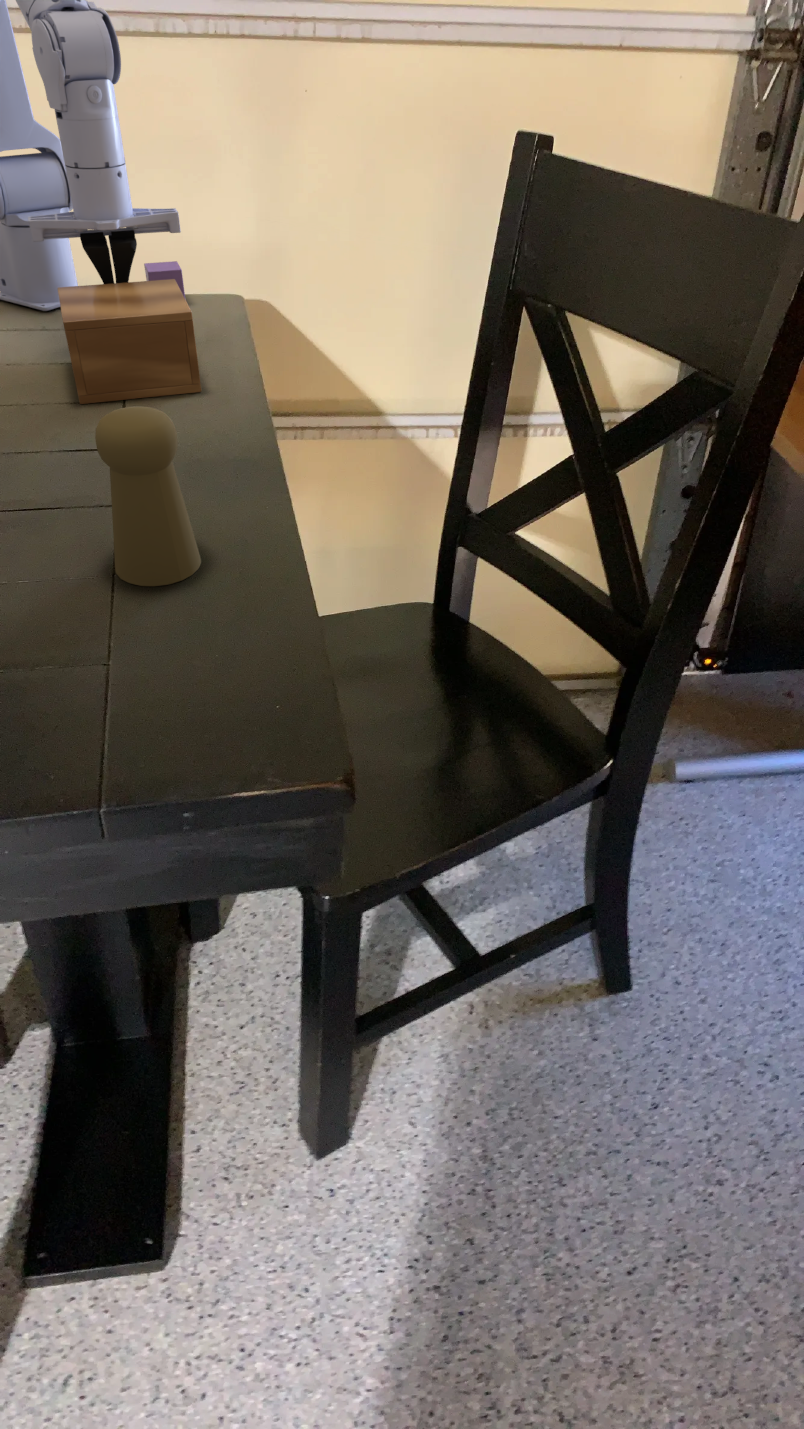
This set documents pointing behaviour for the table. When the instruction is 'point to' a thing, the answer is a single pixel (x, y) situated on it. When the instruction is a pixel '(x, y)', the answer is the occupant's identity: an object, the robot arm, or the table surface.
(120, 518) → the tan pawn
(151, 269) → the block
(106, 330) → the cabinet
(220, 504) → the table surface
